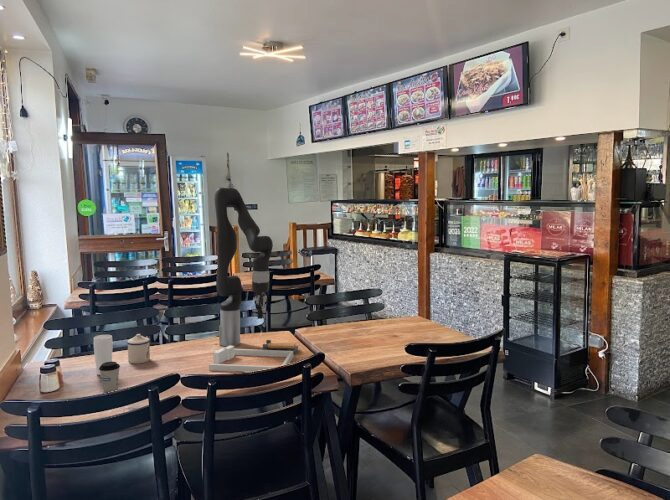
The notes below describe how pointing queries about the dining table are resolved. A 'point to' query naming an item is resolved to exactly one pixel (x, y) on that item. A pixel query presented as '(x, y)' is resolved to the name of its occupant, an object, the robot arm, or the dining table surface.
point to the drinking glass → (102, 350)
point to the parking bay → (252, 353)
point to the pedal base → (265, 347)
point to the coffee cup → (109, 376)
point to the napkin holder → (223, 354)
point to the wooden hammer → (281, 345)
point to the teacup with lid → (138, 349)
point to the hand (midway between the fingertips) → (260, 318)
